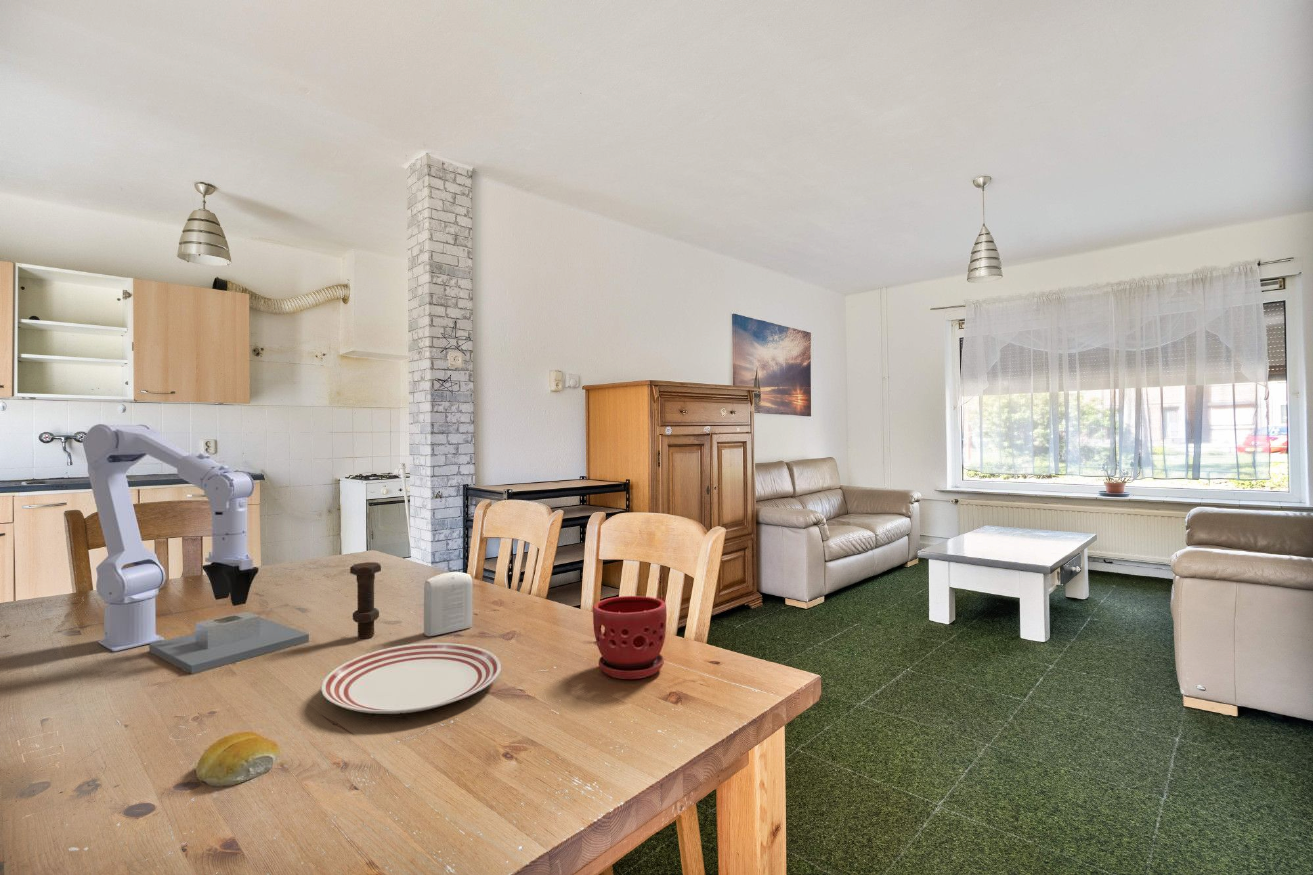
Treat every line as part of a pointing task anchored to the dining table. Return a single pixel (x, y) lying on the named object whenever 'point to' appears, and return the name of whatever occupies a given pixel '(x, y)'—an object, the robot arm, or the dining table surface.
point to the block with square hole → (227, 629)
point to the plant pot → (630, 635)
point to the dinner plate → (410, 678)
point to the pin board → (226, 648)
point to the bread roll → (237, 759)
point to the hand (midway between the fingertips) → (230, 601)
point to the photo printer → (447, 603)
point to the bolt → (365, 598)
